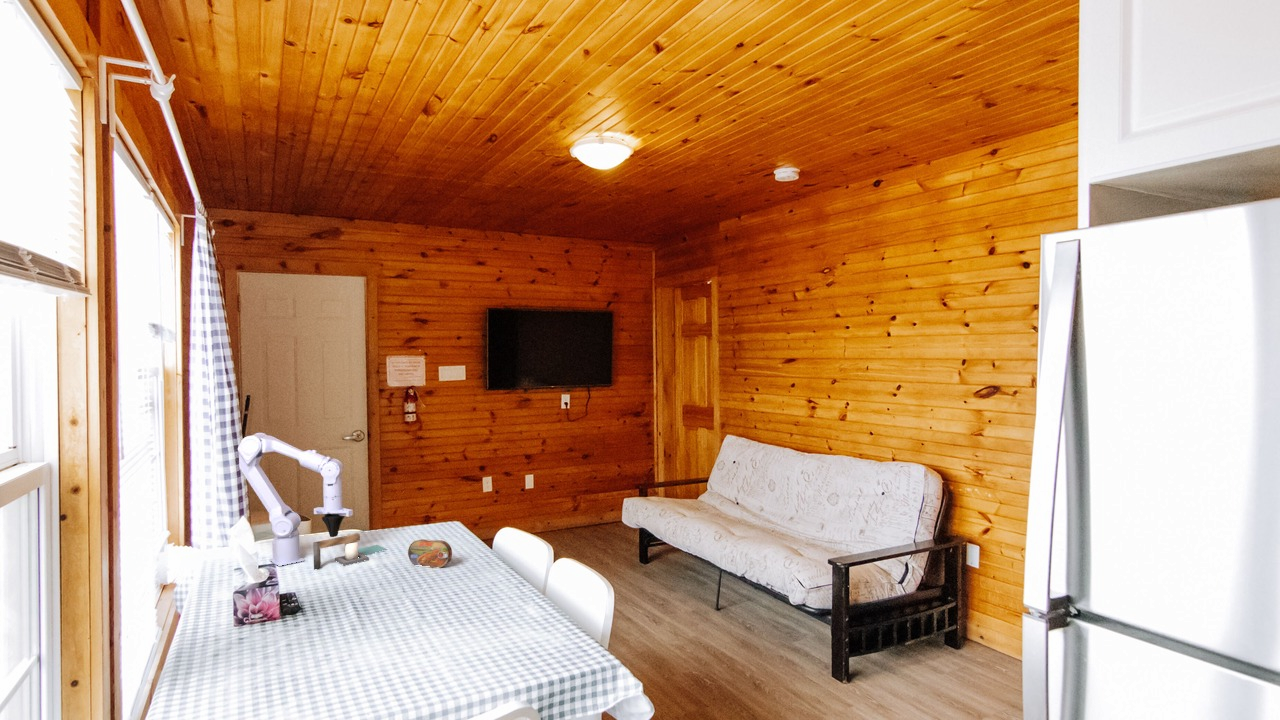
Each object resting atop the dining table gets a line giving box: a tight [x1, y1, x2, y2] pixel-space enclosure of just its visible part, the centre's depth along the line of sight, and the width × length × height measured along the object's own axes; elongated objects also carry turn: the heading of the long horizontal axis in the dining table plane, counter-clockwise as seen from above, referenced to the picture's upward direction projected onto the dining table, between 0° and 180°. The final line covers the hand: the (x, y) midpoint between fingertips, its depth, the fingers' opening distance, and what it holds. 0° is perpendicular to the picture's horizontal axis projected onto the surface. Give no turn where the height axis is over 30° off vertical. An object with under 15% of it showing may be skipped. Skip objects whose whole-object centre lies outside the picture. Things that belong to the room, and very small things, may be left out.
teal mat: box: [358, 544, 388, 556], centre depth 235 cm, size 8×8×1 cm
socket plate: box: [334, 552, 370, 567], centre depth 225 cm, size 8×8×1 cm
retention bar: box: [312, 532, 361, 570], centre depth 221 cm, size 14×2×8 cm, turn 135°
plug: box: [344, 541, 359, 561], centre depth 225 cm, size 4×4×6 cm
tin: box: [407, 539, 453, 569], centre depth 218 cm, size 15×3×8 cm, turn 73°
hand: (333, 536), depth 227 cm, fingers closed
